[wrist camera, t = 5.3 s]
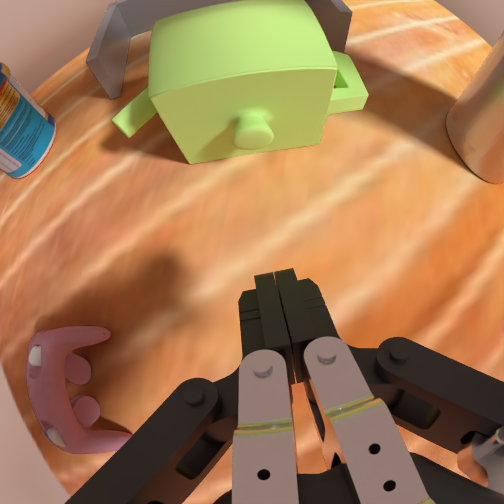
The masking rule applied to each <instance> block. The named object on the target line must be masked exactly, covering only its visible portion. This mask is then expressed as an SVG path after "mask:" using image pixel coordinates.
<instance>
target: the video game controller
mask: <svg viewBox="0 0 504 504" xmlns="http://www.w3.org/2000/svg"><path fill="white" fill-rule="evenodd" d="M110 336H111V332H110V331H109V330H108V329H106V328H103V327H97V326H68V327H61V328H56V329H49V330H45V331H41V332H38V333H36V334H35V335H34V336H33V337H32V338H31V340H30V342H29V346H28V358H27V365H26V380H27V388H28V394H29V398H30V402H31V405H32V408H33V411H34V413H35V415H36V418H37V420H38V422H39V423H40V425H41V427H42V428H43V430H44V433H45V435H46V436H47V438H48V439H49V440H50V441H51V442H52V443H53V444H54V445H56V446H57V447H59V448H60V449H62V450H63V451H66V452H69V453H73V454H94V453H104V452H112V451H118V450H119V449H120V448H121V447H122V446H123V445H124V444H125V443H126V442H127V441H128V440H129V439H130V437H131V436H132V434H129V433H126V432H122V431H115V430H92V429H91V428H90V427H91V426H92V424H93V423H94V422H95V421H96V420H97V419H98V418H99V416H100V406H99V404H98V402H97V401H96V400H95V399H94V398H92V397H90V396H87V395H82V394H80V395H77V396H75V397H74V398H73V399H72V400H71V401H70V399H69V396H68V391H67V386H66V381H68V382H71V383H74V384H77V385H83V384H86V383H87V382H88V381H89V379H90V377H91V367H90V364H89V362H88V361H87V360H86V359H84V358H82V357H80V356H78V355H76V354H74V353H73V350H75V349H77V348H80V347H85V346H89V345H94V344H98V343H100V342H103V341H105V340H107V339H109V337H110ZM65 380H66V381H65Z"/></svg>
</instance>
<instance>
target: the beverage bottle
mask: <svg viewBox="0 0 504 504" xmlns="http://www.w3.org/2000/svg"><path fill="white" fill-rule="evenodd" d="M55 135H56V122H55V120H54V119H53V117H52V116H51V115H50V114H49V113H47V112H46V111H45V110H44V109H43V108H42V107H41V106H40V105H39V104H38V103H37V102H36V101H35V100H34V99H33V98H32V97H31V95H30V94H29V93H28V92H27V91H26V90H25V89H24V88H23V87H22V86H21V85H20V84H19V82H17V80H16V79H15V78H14V77H13V76H12V75H11V73H10V70H9V68H8V67H7V66H6V65H5V64H3V63H0V169H1V170H3V171H4V172H5V173H6V174H8V175H9V176H11V177H13V178H22V177H25V176H27V175H28V174H30V173H31V172H32V171H34V170H35V169H36V168H37V167H38V166H39V164H40V163H41V162H42V161H43V159H44V158H45V157H46V155H47V153H48V152H49V150H50V148H51V146H52V144H53V141H54V138H55Z"/></svg>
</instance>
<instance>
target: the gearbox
mask: <svg viewBox="0 0 504 504" xmlns="http://www.w3.org/2000/svg"><path fill="white" fill-rule="evenodd" d="M334 85H335V86H336V88H334ZM367 98H368V92H367V90H366V88H365V86H364V84H363V82H362V80H361V77H360V75H359V73H358V71H357V69H356V67H355V65H354V63H353V61H352V60H351V58H350V56H349V55H347V54H344V53H340V52H336V51H332V50H331V48H330V46H329V43H328V41H327V39H326V36H325V34H324V32H323V30H322V28H321V26H320V24H319V22H318V20H317V18H316V17H315V15H314V13H313V11H312V10H311V8H310V7H309V5H308V4H307V3H306V2H305V1H304V0H241V1H233V2H227V3H221V4H216V5H211V6H206V7H202V8H197V9H193V10H189V11H185V12H182V13H178V14H175V15H172V16H168V17H165V18H163V19H160V20H158V21H156V22H155V24H154V27H153V30H152V35H151V42H150V51H149V68H148V87H147V88H146V89H145V90H143V91H142V92H141V93H140V94H139V95H138V96H137V97H135V98H134V99H133V100H132V101H131V102H130V103H129V104H128V105H127V106H125V107H124V108H123V109H122V110H121V111H120V112H119V113H118V114H117V115H116V116H115V117H114V118H113V119H112V120H111V121H112V122H113V123H114V124H115V125H116V126H117V128H118V129H119V130H120V131H121V132H122V133H124V134H125V135H126V136H127V137H128V138H130V137H131V136H133V135H134V134H135V133H136V132H137V131H138V130H139V129H140V128H141V127H142V126H143V125H144V124H145V123H146V122H148V121H149V120H150V119H151V118H152V117H153V116H154V115H155V114H157V113H158V114H159V116H160V118H161V119H162V121H163V123H164V124H165V126H166V127H167V129H168V131H169V132H170V134H171V136H172V137H173V139H174V140H175V142H176V144H177V145H178V147H179V149H180V150H181V152H182V153H183V155H184V157H185V158H186V160H187V161H188V162H189V163H190V164H195V163H201V162H207V161H213V160H218V159H224V158H230V157H236V156H242V155H249V154H255V153H262V152H268V151H275V150H282V149H289V148H296V147H304V146H311V145H317V144H319V142H320V139H321V136H322V132H323V129H324V125H325V121H326V117H327V115H331V114H337V113H343V112H349V111H355V110H362V109H363V107H364V105H365V103H366V100H367Z"/></svg>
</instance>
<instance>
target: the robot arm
mask: <svg viewBox="0 0 504 504" xmlns="http://www.w3.org/2000/svg"><path fill="white" fill-rule="evenodd" d="M446 128H447V132H448V135H449V138H450V140H451V143H452V144H453V146H454V148H455V150H456V152H457V153H458V154H459V156H460V157H461V159H462V160H463V161H464V162H465V164H466V165H467V166H468V167H469V168H470V169H471V170H472V171H473V172H474V173H475V174H476V175H478V176H479V177H481V178H482V179H483V180H486V181H488V182H490V183H494V184H499V183H502V182H504V31H503V33H502V34H501V36H500V38H499V39H498V41H497V42H496V44H495V46H494V47H493V49H492V50H491V52H490V53H489V55H488V56H487V58H486V59H485V61H484V62H483V64H482V65H481V67H480V68H479V70H478V71H477V73H476V74H475V76H474V77H473V79H472V80H471V82H470V83H469V84H468V86H467V87H466V89H465V90H464V91H463V93H462V94H461V96H460V97H459V98H458V100H457V101H456V103H455V104H454V105H453V107H452V108H451V109H450V111H449V112H448V114H447V117H446ZM274 275H275V279H274ZM274 275H273V272H271V273H266V274H261V275H255V276H254V278H255V284H256V289H253V290H248V291H243V293H242V295H241V297H240V299H239V301H238V304H239V317H240V329H241V341H242V352H243V357H242V361H241V364H240V365H239V367H238V368H237V369H236V371H234V372H233V373H232V374H231V375H229V376H227V377H225V378H223V379H220V380H218V381H216V382H213V383H212V382H210V381H209V380H207V379H204V378H192V379H189V380H186V381H184V382H183V383H181V384H180V385H179V386H178V387H177V388H176V389H175V390H174V392H173V393H172V394H171V395H170V396H169V397H168V398H167V399H166V400H165V401H164V402H163V403H162V405H161V406H160V407H159V408H158V409H157V410H156V411H155V412H154V413H153V414H152V415H151V416H150V417H149V418H148V420H147V421H146V422H145V423H144V424H143V425H142V426H141V427H140V428H139V429H138V430H137V431H136V432H135V433H134V434H133V435H132V436H131V437H130V439H129V440H128V441H127V442H126V443H125V444H124V445H123V446H122V447H121V448H120V449H119V450H118V451H117V452H116V453H115V454H114V455H113V456H112V457H111V458H110V459H109V460H108V461H107V462H106V463H105V464H104V465H103V466H102V467H101V468H100V469H99V470H98V471H97V472H96V473H95V474H94V475H93V476H92V477H91V478H90V479H89V480H88V481H87V482H86V483H85V484H84V485H83V486H82V487H81V488H80V489H79V490H78V491H77V492H76V493H75V494H74V495H73V496H72V497H71V498H70V499H69V500H68V501H67V502H66V503H65V504H182V503H183V502H184V501H185V500H186V498H187V497H188V496H189V495H190V494H191V493H192V492H193V491H194V489H195V488H196V487H197V486H198V485H199V484H200V483H201V481H202V480H203V479H204V478H205V477H206V475H207V474H208V473H209V472H210V471H211V469H212V468H213V467H214V466H215V465H216V463H217V462H218V461H219V460H220V458H221V457H222V456H223V455H224V453H225V452H226V451H227V450H228V448H229V447H230V446H231V444H232V443H233V456H232V489H231V490H230V491H228V492H226V493H225V494H223V495H222V496H221V497H219V498H218V499H217V500H216V501H215V502H214V503H213V504H504V382H502V381H500V380H498V379H495V378H493V377H491V376H489V375H486V374H484V373H482V372H480V371H477V370H475V369H473V368H471V367H468V366H466V365H464V364H462V363H459V362H457V361H455V360H453V359H451V358H448V357H446V356H444V355H442V354H440V353H437V352H435V351H433V350H431V349H429V348H426V347H424V346H422V345H420V344H418V343H415V342H413V341H411V340H409V339H406V338H403V337H393V338H389V339H387V340H385V341H384V342H382V343H381V345H380V346H379V348H356V347H352V346H350V345H348V344H346V343H345V342H343V341H342V340H341V339H340V337H339V336H338V334H337V331H336V329H335V326H334V324H333V321H332V319H331V316H330V314H329V311H328V309H327V307H326V305H325V302H324V299H323V297H322V295H321V292H320V290H319V287H318V285H316V284H315V283H314V282H313V281H312V280H310V279H309V278H308V279H303V280H298V281H297V278H296V275H295V272H294V269H293V268H291V269H286V270H281V271H276V272H274ZM275 281H276V283H275ZM293 368H294V369H293ZM294 372H295V376H296V381H297V383H301V382H304V386H305V390H306V400H307V403H308V406H309V409H310V412H311V415H312V418H313V421H314V424H315V427H316V430H317V433H318V436H319V439H320V442H321V446H322V451H323V456H324V460H325V464H326V467H327V471H325V472H323V473H320V474H299V467H298V458H297V449H296V439H295V429H294V420H293V410H292V403H293V395H292V388H291V385H292V384H295V377H294ZM396 424H397V425H399V426H401V427H403V428H405V429H407V430H409V431H410V432H412V433H414V434H416V435H418V436H420V437H422V438H424V439H426V440H428V441H430V442H433V443H435V444H437V445H439V446H441V447H443V448H445V449H447V450H449V451H452V452H454V453H456V454H458V456H457V463H458V468H459V469H460V470H461V471H462V472H463V473H465V474H466V475H467V476H468V477H469V478H470V479H471V480H469V479H467V478H465V477H463V476H461V475H459V474H457V473H455V472H453V471H451V470H449V469H447V468H445V467H443V466H441V465H439V464H437V463H435V462H433V461H431V460H429V459H428V458H426V457H424V456H421V455H419V454H416V453H412V452H408V449H407V447H406V445H405V443H404V441H403V439H402V437H401V434H400V432H399V430H398V428H397V426H396Z"/></svg>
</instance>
